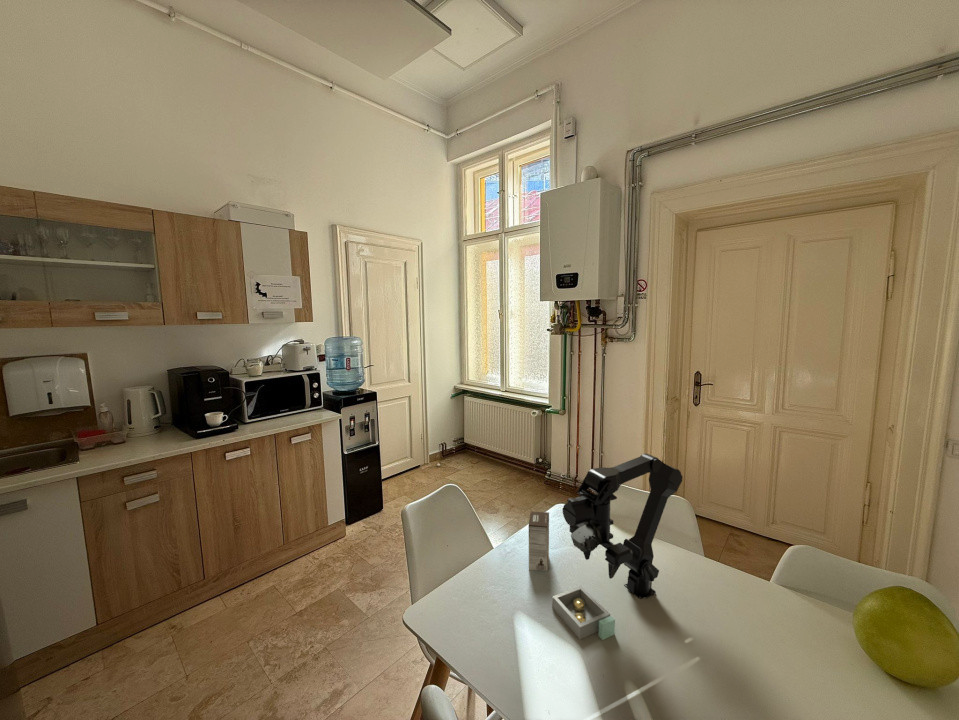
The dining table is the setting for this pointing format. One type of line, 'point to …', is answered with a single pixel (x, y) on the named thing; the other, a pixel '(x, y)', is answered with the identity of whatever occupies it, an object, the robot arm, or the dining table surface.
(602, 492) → the robot arm
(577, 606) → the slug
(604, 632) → the lid
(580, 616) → the ball
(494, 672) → the dining table surface
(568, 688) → the dining table surface
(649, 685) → the dining table surface
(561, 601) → the tub
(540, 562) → the coffee box
